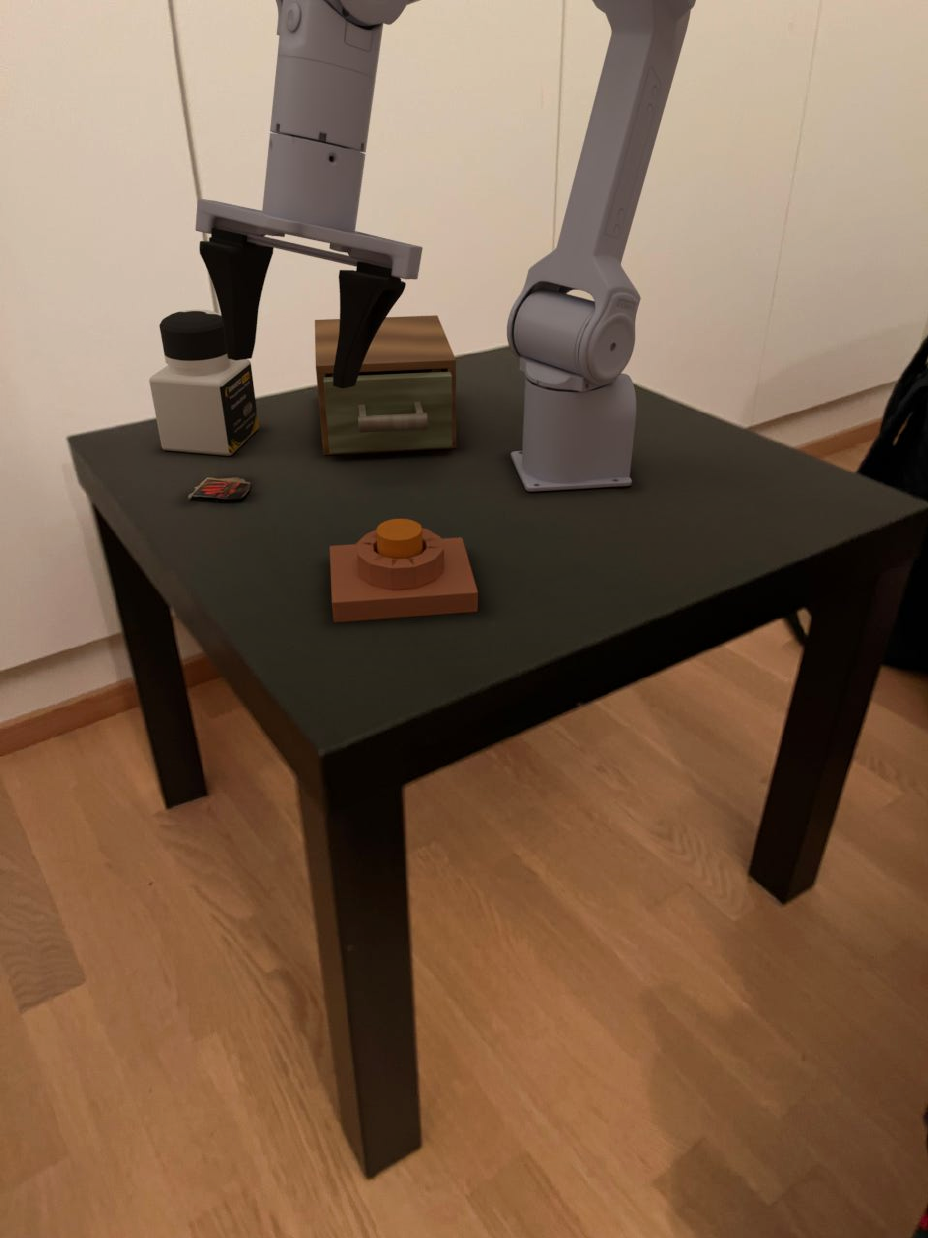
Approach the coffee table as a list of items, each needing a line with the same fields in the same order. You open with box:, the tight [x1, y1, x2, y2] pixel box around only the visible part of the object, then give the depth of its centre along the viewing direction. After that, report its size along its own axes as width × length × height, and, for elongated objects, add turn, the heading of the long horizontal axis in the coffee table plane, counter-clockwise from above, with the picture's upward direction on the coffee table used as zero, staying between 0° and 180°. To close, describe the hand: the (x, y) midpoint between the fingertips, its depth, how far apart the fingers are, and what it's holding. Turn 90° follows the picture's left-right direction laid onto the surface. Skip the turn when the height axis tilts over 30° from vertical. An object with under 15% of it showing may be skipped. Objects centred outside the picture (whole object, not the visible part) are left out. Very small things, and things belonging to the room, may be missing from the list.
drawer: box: [323, 369, 452, 453], centre depth 88 cm, size 18×11×7 cm, turn 8°
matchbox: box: [187, 476, 251, 502], centre depth 81 cm, size 5×5×1 cm
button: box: [375, 518, 423, 559], centre depth 66 cm, size 3×3×2 cm
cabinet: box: [314, 314, 457, 456], centre depth 92 cm, size 15×13×9 cm
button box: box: [329, 527, 479, 623], centre depth 67 cm, size 10×8×4 cm
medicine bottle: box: [148, 309, 260, 457], centre depth 87 cm, size 7×7×12 cm
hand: (291, 371), depth 61 cm, fingers open, 7 cm apart
